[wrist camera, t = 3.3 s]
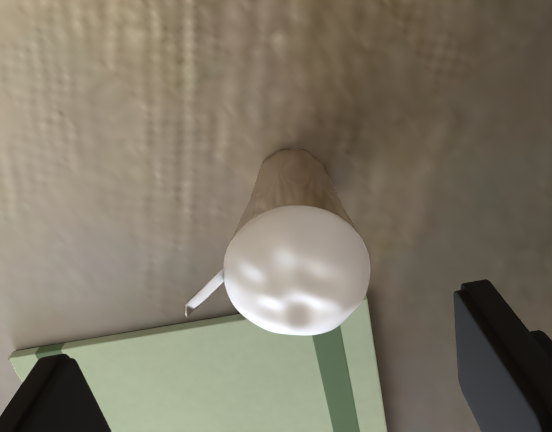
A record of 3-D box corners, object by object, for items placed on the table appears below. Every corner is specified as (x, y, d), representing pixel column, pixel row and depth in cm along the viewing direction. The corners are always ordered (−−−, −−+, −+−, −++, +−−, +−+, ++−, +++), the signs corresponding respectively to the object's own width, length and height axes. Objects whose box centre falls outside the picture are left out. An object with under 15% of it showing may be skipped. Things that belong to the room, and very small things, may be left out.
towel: (12, 350, 26) (7, 358, 25) (365, 292, 24) (367, 299, 24) (91, 486, 31) (88, 496, 30) (388, 447, 29) (391, 456, 29)
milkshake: (224, 131, 21) (179, 236, 11) (344, 134, 21) (393, 242, 11) (226, 223, 22) (189, 374, 13) (336, 226, 22) (373, 379, 13)
